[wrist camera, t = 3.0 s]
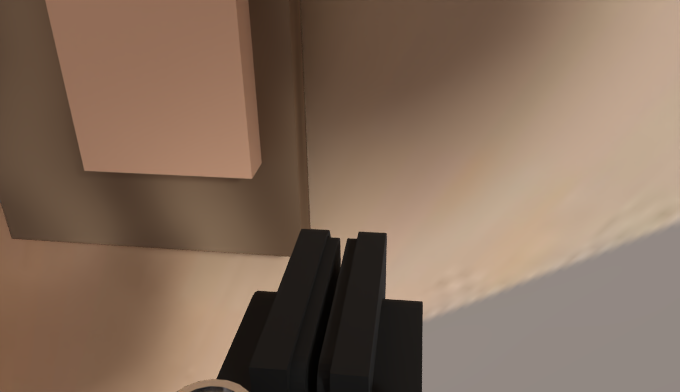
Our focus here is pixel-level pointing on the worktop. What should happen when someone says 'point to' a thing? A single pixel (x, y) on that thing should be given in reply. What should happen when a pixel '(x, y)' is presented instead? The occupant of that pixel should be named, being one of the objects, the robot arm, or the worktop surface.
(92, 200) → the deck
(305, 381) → the robot arm
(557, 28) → the worktop surface
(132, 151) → the tile
